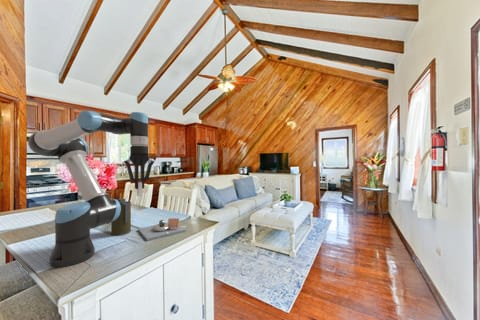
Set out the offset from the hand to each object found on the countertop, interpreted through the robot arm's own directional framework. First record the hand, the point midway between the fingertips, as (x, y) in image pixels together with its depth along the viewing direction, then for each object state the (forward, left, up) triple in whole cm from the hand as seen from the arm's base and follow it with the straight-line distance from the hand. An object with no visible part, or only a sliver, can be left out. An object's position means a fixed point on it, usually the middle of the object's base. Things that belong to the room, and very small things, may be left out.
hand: (139, 195), depth 93 cm
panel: (+17, +20, -26) cm, 37 cm away
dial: (+19, +18, -25) cm, 36 cm away
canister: (-2, +33, -27) cm, 43 cm away
